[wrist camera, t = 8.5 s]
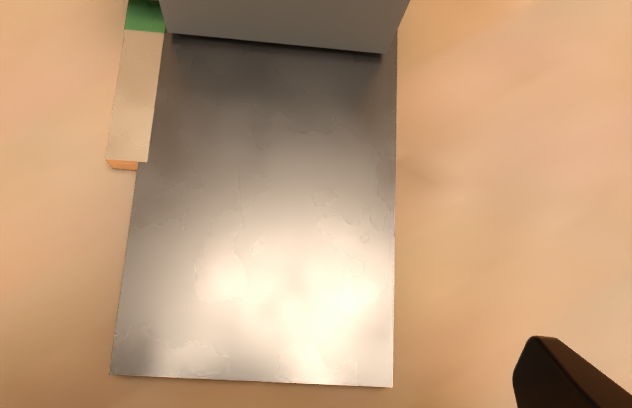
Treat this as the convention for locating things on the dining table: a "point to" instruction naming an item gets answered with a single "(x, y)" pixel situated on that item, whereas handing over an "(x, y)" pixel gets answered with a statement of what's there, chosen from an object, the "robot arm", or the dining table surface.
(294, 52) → the base
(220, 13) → the gauge carriage
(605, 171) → the dining table surface
